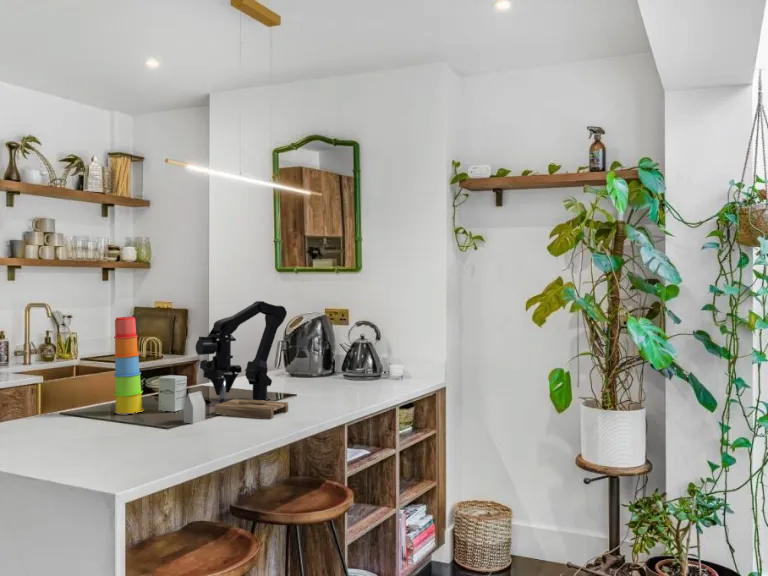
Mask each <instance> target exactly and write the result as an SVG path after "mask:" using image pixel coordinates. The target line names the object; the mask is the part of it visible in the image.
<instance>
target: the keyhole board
mask: <svg viewBox="0 0 768 576" xmlns="http://www.w3.org/2000/svg"><path fill="white" fill-rule="evenodd" d="M281 412H287V413H289V402H288V401H273V400H272V401H271V400H267V401H261V400H250V399H245V398H244V399H243V398H234V399H230V400H226V402H223V403H220V404H217V403H216V404H215V405H214V414H215V413H220V414H225V415H230V416H229V417H237V416H241V418H250V417H252V418H253V419H254V418H255V419H264V418H265V419H266V420H267V419H268V420H272V419H274V418H275V417H274V413H281ZM271 418H272V419H271Z"/></svg>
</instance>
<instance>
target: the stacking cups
mask: <svg viewBox="0 0 768 576" xmlns="http://www.w3.org/2000/svg"><path fill="white" fill-rule="evenodd" d="M136 323H137V322H136V318H135V316H120V317H116V318H115V319H114V332H115V333H114V334H115V335H114V336H113V338H114V348H115V349H114V351H115V353H114V355H113V357H114V362H115V363H114V366H115V368H114V369H115V370H114V371H115V373H114V374H113V377H115V378H114V379H115V392H114V393H113V395H114V396H115V411H116V412H118V413H134V412H136V413H137V412H142V413H143V411H145V409H144V408H143V401H142V399H143V396H142V394H143V392H144V390H142V388H141V387H142V386H141V385H142V384H141V374H142V372H141V371H140V360H139V356H140V353H139V349H138V348H139V347H138V337H139V335H137V324H136Z"/></svg>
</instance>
